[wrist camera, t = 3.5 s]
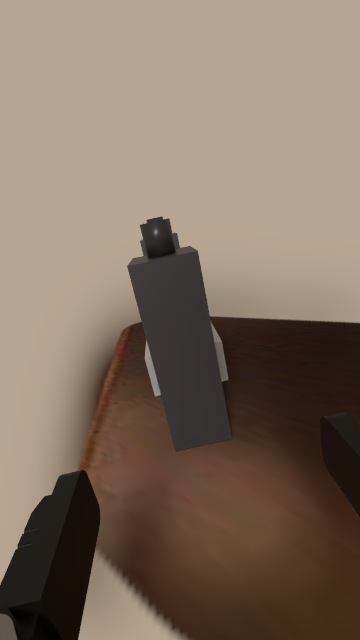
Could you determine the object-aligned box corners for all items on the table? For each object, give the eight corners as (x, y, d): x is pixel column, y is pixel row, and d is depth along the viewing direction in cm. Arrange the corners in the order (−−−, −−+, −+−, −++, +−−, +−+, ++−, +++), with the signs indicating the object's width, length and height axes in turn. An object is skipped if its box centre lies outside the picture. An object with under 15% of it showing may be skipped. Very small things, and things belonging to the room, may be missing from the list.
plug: (172, 416, 24) (125, 228, 20) (220, 405, 24) (184, 215, 20) (175, 451, 21) (117, 229, 16) (232, 438, 21) (190, 213, 16)
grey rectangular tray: (155, 340, 41) (147, 309, 40) (205, 329, 41) (199, 298, 40) (155, 396, 28) (143, 352, 26) (228, 380, 28) (220, 335, 26)
